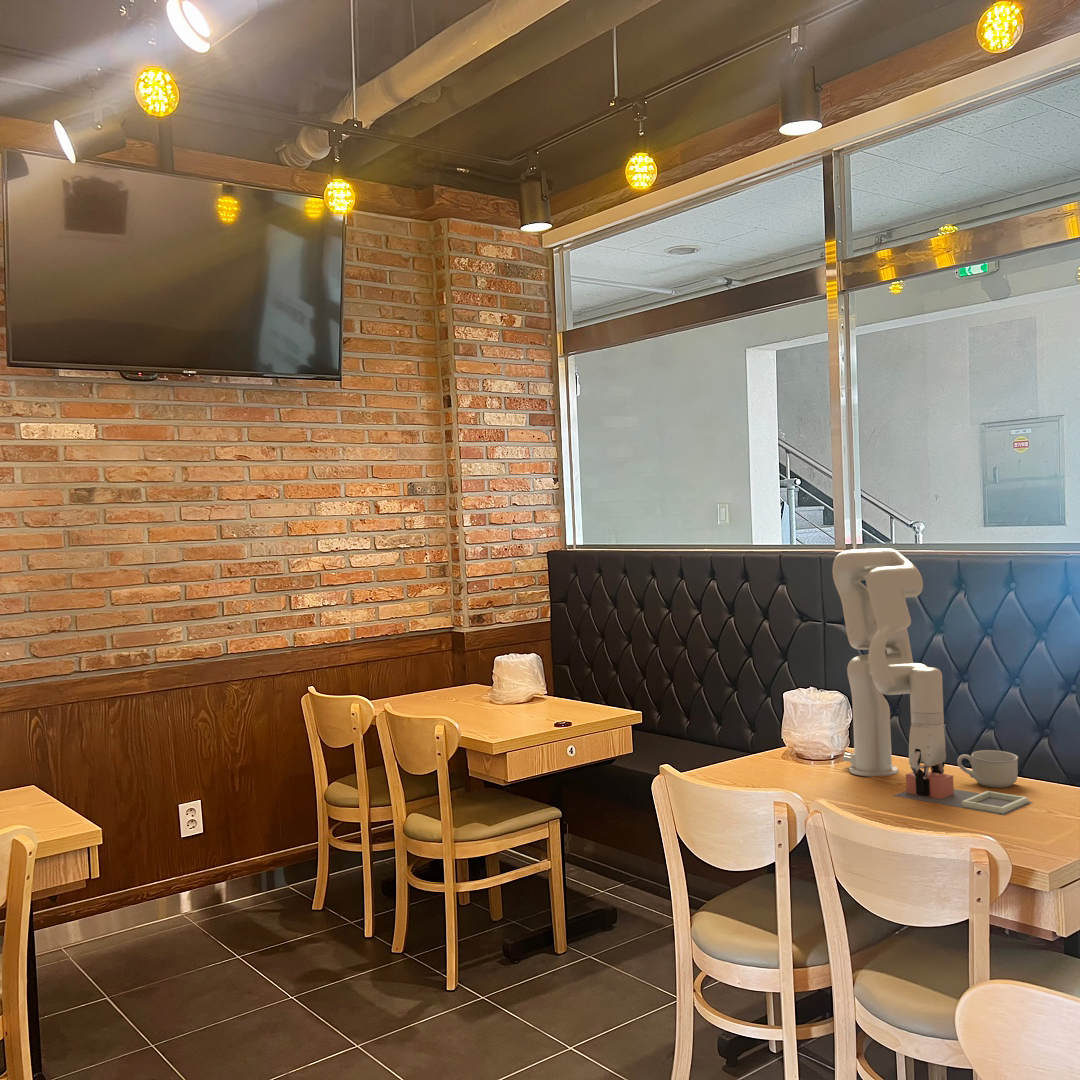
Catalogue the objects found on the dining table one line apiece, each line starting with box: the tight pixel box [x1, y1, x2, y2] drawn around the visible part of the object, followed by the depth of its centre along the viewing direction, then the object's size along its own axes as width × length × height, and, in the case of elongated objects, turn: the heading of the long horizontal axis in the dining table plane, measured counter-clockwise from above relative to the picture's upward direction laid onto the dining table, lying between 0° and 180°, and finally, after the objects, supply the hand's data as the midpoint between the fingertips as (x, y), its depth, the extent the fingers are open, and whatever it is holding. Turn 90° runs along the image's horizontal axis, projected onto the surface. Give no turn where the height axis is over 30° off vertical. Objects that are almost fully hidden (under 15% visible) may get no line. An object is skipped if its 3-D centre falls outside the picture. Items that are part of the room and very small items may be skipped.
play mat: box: [892, 788, 1034, 816], centre depth 244 cm, size 27×15×1 cm, turn 41°
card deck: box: [905, 770, 955, 799], centre depth 250 cm, size 9×6×4 cm, turn 41°
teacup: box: [956, 749, 1019, 789], centre depth 257 cm, size 14×11×8 cm
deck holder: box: [962, 790, 1029, 814], centre depth 238 cm, size 10×13×1 cm
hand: (929, 791), depth 250 cm, fingers closed on card deck, 6 cm apart
